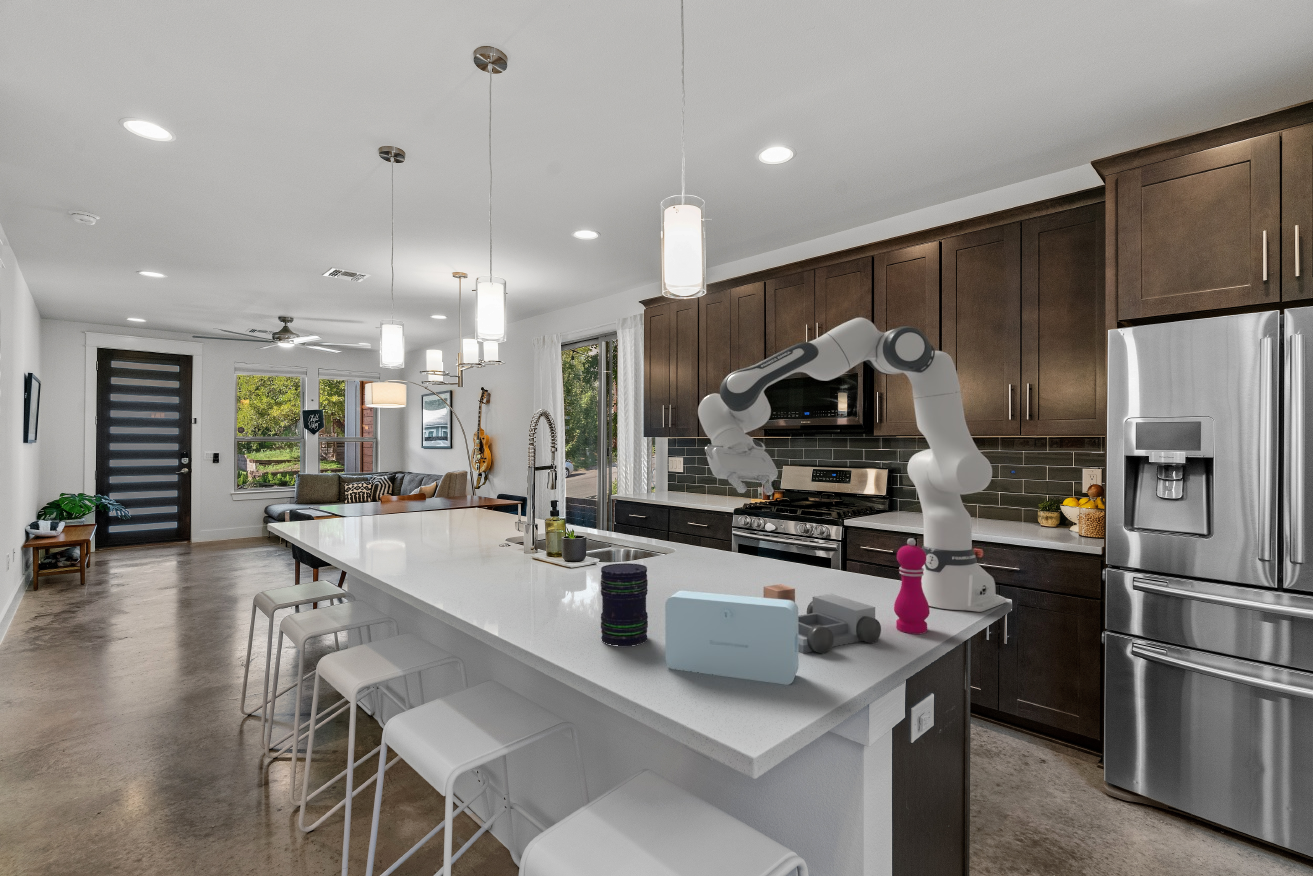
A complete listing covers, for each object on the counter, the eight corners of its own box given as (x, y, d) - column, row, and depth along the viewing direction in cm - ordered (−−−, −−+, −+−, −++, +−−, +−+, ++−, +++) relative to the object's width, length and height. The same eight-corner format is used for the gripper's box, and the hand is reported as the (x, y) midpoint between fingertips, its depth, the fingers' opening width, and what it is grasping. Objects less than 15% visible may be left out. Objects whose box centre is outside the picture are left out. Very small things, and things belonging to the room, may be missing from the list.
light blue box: (663, 670, 116) (663, 597, 116) (674, 659, 121) (674, 589, 121) (793, 688, 107) (793, 609, 107) (798, 675, 113) (798, 600, 113)
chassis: (826, 619, 147) (826, 591, 147) (884, 640, 132) (884, 609, 131) (756, 632, 137) (756, 602, 137) (810, 656, 122) (809, 622, 122)
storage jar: (592, 643, 130) (592, 570, 130) (612, 630, 139) (611, 562, 139) (637, 649, 127) (637, 574, 127) (654, 634, 136) (654, 565, 136)
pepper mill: (888, 630, 139) (888, 538, 139) (901, 622, 144) (901, 534, 144) (922, 637, 134) (922, 542, 134) (934, 629, 139) (934, 538, 139)
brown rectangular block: (780, 618, 148) (780, 584, 148) (795, 624, 143) (795, 588, 143) (763, 621, 146) (763, 586, 146) (777, 627, 141) (777, 591, 141)
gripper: (710, 435, 152) (733, 481, 144) (767, 444, 164) (792, 486, 157) (695, 452, 155) (717, 498, 147) (752, 459, 168) (776, 501, 160)
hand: (756, 492), depth 152 cm, fingers open, 8 cm apart
